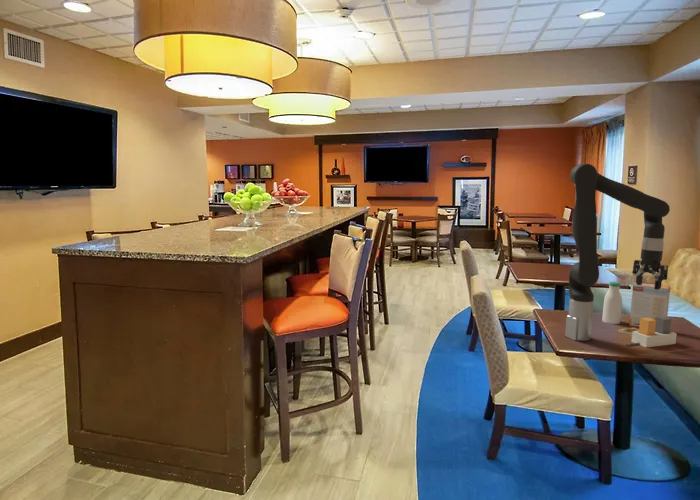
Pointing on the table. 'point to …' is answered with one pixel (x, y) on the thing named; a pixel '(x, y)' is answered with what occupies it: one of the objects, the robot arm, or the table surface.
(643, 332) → the plug
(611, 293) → the milk bottle
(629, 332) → the tray
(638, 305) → the cracker box
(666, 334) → the strip
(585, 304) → the robot arm
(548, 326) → the table surface
